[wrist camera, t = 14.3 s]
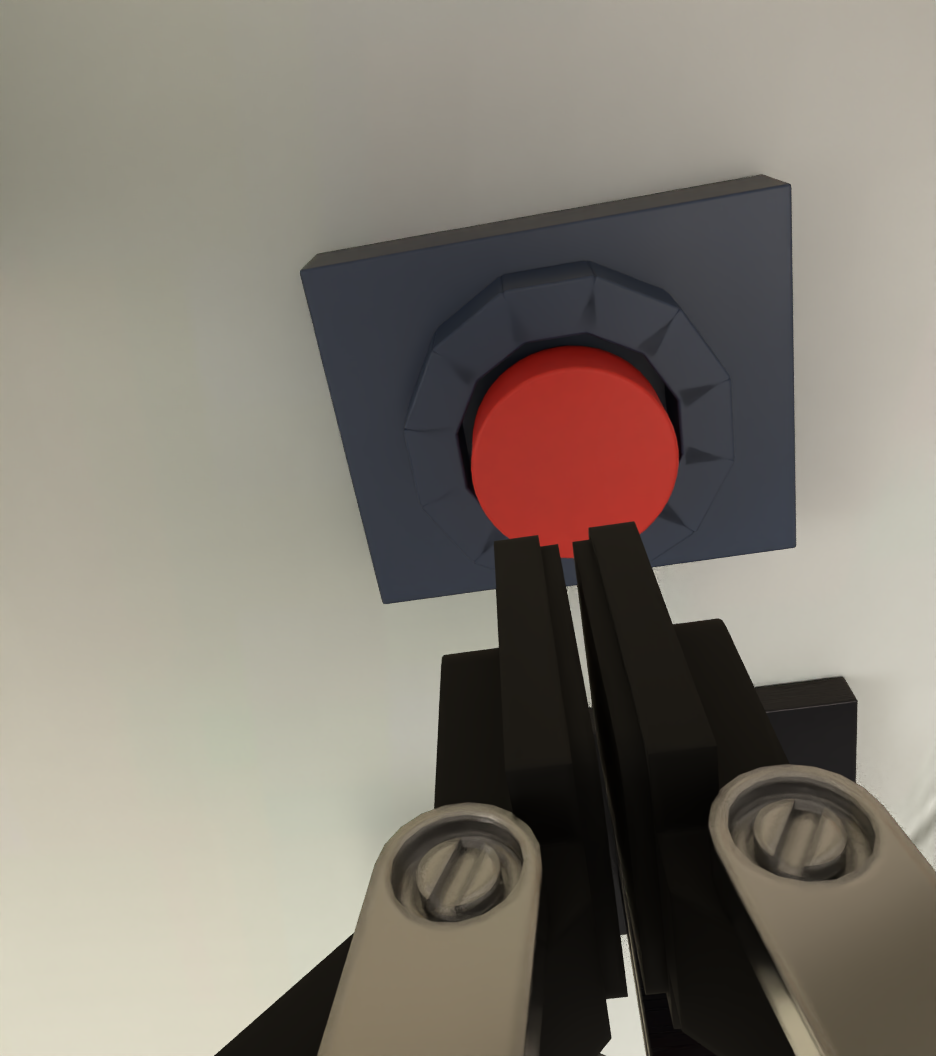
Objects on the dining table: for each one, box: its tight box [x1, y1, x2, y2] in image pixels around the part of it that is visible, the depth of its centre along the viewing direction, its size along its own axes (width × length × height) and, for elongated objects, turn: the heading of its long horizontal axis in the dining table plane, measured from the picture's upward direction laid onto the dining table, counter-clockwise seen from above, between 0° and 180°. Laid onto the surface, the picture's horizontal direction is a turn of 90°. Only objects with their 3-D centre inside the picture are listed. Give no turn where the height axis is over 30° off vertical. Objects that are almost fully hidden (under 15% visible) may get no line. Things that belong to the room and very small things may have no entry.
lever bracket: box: [589, 677, 857, 1056], centre depth 24 cm, size 11×9×13 cm
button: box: [471, 346, 679, 558], centre depth 20 cm, size 4×4×2 cm
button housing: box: [300, 175, 796, 604], centre depth 22 cm, size 11×9×4 cm
